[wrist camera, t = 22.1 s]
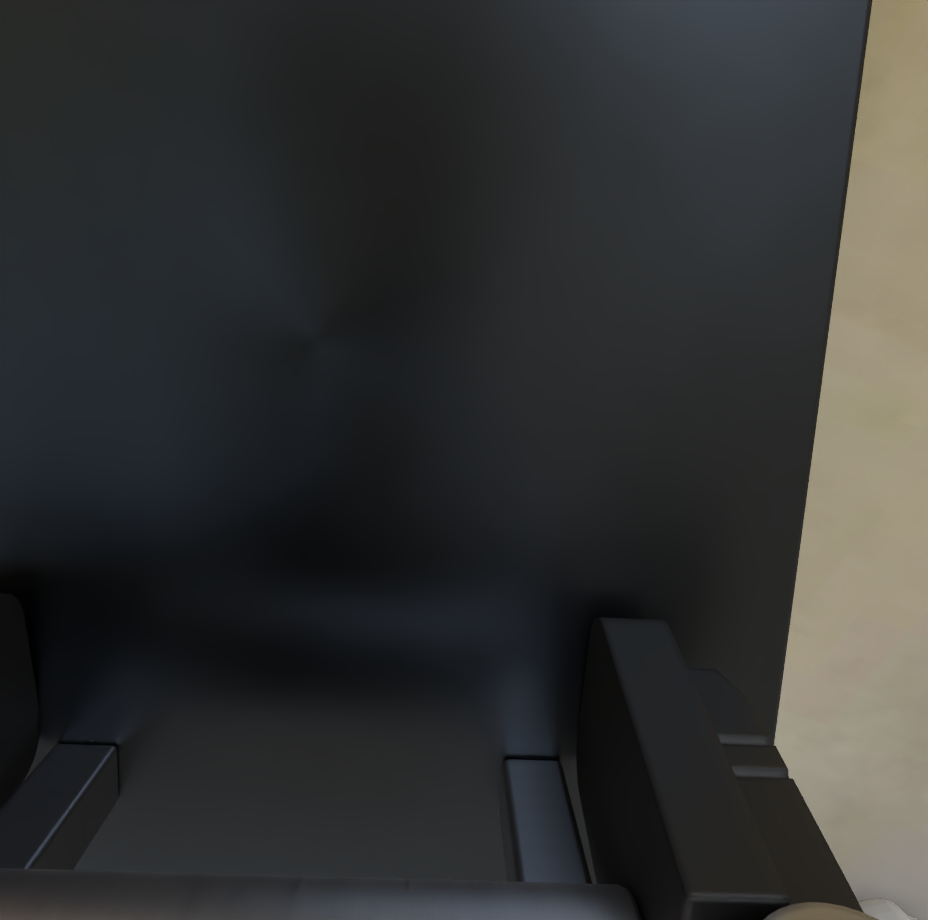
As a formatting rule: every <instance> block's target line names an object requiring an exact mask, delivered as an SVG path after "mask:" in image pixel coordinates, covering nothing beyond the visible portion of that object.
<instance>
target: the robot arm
mask: <svg viewBox="0 0 928 920" xmlns="http://www.w3.org/2000/svg"><path fill="white" fill-rule="evenodd" d="M39 736H40V709H39V703H38V697H37V690H36V684H35V678H34V672H33V665H32V659H31V653H30V647H29V640H28V634H27V628H26V621H25V616H24V611H23V608H22V606H21V604H20V602H19V600H18V599H17V598H16V597H15V596H13V595H11V594H0V809H1V808H2V806H3V805H4V804H5V803H6V802H7V801H8V799H9V798H10V797H11V796H12V795H13V794H14V792H15V791H16V790H17V789H18V788H19V787H20V785H21V784H22V782H23V781H24V779H25V777H26V776H27V774H28V772H29V770H30V768H31V766H32V763H33V760H34V758H35V754H36V751H37V747H38V742H39ZM576 764H577V781H578V790H579V796H580V801H581V806H582V812H583V817H584V822H585V827H586V832H587V837H588V842H589V847H590V852H591V857H592V863H593V868H594V873H595V878H596V883H597V884H618V885H620V886H622V887H624V888H626V889H628V890H629V891H630V892H631V894H632V895H633V897H634V899H635V901H636V903H637V905H638V908H639V911H640V914H641V917H642V919H643V920H879V919H876V918H874V917H872V916H870V915H867V914H865V913H864V912H863V910H862V908H861V906H860V904H859V903H858V901H857V899H856V897H855V895H854V893H853V891H852V889H851V887H850V886H849V884H848V882H847V880H846V878H845V876H844V874H843V872H842V870H841V869H840V867H839V865H838V863H837V861H836V859H835V857H834V855H833V853H832V852H831V850H830V848H829V846H828V844H827V842H826V840H825V838H824V837H823V835H822V833H821V831H820V829H819V827H818V825H817V823H816V821H815V820H814V818H813V816H812V814H811V812H810V810H809V808H808V806H807V804H806V803H805V801H804V799H803V797H802V795H801V793H800V791H799V789H798V787H797V786H796V784H795V782H794V780H793V779H789V777H788V769H787V767H786V765H785V763H784V761H783V759H782V757H781V755H780V754H779V752H778V750H777V748H776V746H772V744H771V737H770V735H769V733H768V731H767V729H766V727H765V725H764V723H763V722H762V720H761V718H760V716H759V714H758V712H757V710H756V708H755V706H754V705H753V703H752V701H751V700H750V699H749V698H748V697H747V696H746V695H745V694H743V693H742V692H741V691H740V690H739V689H738V688H737V687H735V686H734V685H733V684H732V683H731V682H730V681H729V680H728V679H726V678H725V677H724V676H723V675H722V674H721V673H720V672H719V671H717V670H716V669H711V668H687V665H686V663H685V661H684V659H683V656H682V654H681V652H680V650H679V647H678V645H677V643H676V641H675V638H674V636H673V634H672V632H671V629H670V627H669V625H668V623H667V622H666V621H664V620H656V619H629V618H603V617H597V618H595V619H594V621H593V624H592V627H591V632H590V638H589V646H588V654H587V662H586V670H585V677H584V685H583V693H582V701H581V709H580V717H579V725H578V733H577V749H576Z"/></svg>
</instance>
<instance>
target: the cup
mask: <svg viewBox="0 0 928 920" xmlns="http://www.w3.org/2000/svg"><path fill="white" fill-rule="evenodd" d="M858 903H859V904H860V906H861V908H862V910H863V912H864V913H865V914H867V915H870V916H872V917H874V918H876V919H879V920H918V919H916V918H913V917H910V916H907V915H906V914H905V913H904V911H902V910H901V909H900V908H899V907H898V906H897V905H896V904H894V903H893V902H891V901H888V900H884V899H869V900H864V901H861V902H858Z"/></svg>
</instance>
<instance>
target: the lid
mask: <svg viewBox="0 0 928 920" xmlns="http://www.w3.org/2000/svg"><path fill="white" fill-rule="evenodd" d="M871 6H872V0H0V594H11V595H13V596H15V597H16V598H17V599H18V600H19V602H20V604H21V606H22V608H23V611H24V616H25V621H26V628H27V634H28V640H29V647H30V653H31V659H32V665H33V672H34V678H35V684H36V690H37V697H38V703H39V709H40V736H39V742H38V747H37V751H36V754H35V758H34V760H33V763H32V766H31V768H30V770H29V772H28V774H27V776H26V777H25V779H24V781H23V782H22V784H21V785H20V787H19V788H18V789H17V790H16V791H15V792H14V794H13V795H12V796H11V797H10V798H9V799H8V801H7V802H6V803H5V804H4V805H3V806H2V808H1V809H0V920H643V919H642V917H641V914H640V911H639V908H638V905H637V903H636V901H635V899H634V897H633V895H632V894H631V892H630V891H629V890H628V889H626V888H624V887H622V886H620V885H618V884H597V883H596V878H595V873H594V868H593V863H592V857H591V852H590V847H589V842H588V837H587V832H586V827H585V822H584V817H583V812H582V806H581V801H580V796H579V790H578V781H577V764H576V749H577V733H578V725H579V717H580V709H581V701H582V693H583V685H584V677H585V670H586V662H587V654H588V646H589V638H590V632H591V627H592V624H593V621H594V619H595V618H597V617H603V618H629V619H656V620H664V621H666V622H667V623H668V625H669V627H670V629H671V632H672V634H673V636H674V638H675V641H676V643H677V645H678V647H679V650H680V652H681V654H682V656H683V659H684V661H685V663H686V665H687V668H711V669H716V670H717V671H719V672H720V673H721V674H722V675H723V676H724V677H725V678H726V679H728V680H729V681H730V682H731V683H732V684H733V685H734V686H735V687H737V688H738V689H739V690H740V691H741V692H742V693H743V694H745V695H746V696H747V697H748V698H749V699H750V700H751V701H752V703H753V705H754V706H755V708H756V710H757V712H758V714H759V716H760V718H761V720H762V722H763V723H764V725H765V727H766V729H767V731H768V733H769V735H770V737H771V744H772V746H774V739H775V731H776V724H777V716H778V709H779V701H780V694H781V686H782V679H783V671H784V663H785V656H786V648H787V641H788V633H789V626H790V618H791V611H792V603H793V595H794V588H795V580H796V573H797V565H798V558H799V550H800V543H801V535H802V527H803V520H804V512H805V505H806V497H807V490H808V482H809V475H810V467H811V459H812V452H813V444H814V437H815V429H816V422H817V414H818V406H819V399H820V391H821V384H822V376H823V369H824V361H825V354H826V346H827V338H828V331H829V323H830V316H831V308H832V301H833V293H834V286H835V278H836V270H837V263H838V255H839V248H840V240H841V233H842V225H843V218H844V210H845V202H846V195H847V187H848V180H849V172H850V165H851V157H852V150H853V142H854V134H855V127H856V119H857V112H858V104H859V97H860V89H861V82H862V74H863V66H864V59H865V51H866V44H867V36H868V29H869V21H870V14H871Z"/></svg>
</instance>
